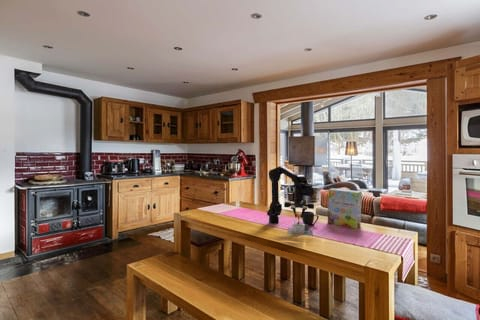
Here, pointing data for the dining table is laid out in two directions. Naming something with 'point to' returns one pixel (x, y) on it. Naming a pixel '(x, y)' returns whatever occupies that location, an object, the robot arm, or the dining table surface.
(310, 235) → the slate board
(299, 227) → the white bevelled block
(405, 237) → the dining table surface
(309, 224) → the mug
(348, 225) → the snack box
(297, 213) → the plunger
